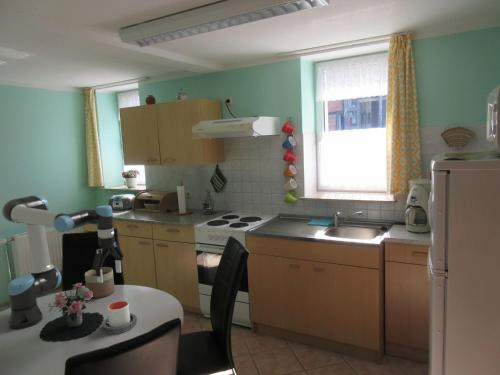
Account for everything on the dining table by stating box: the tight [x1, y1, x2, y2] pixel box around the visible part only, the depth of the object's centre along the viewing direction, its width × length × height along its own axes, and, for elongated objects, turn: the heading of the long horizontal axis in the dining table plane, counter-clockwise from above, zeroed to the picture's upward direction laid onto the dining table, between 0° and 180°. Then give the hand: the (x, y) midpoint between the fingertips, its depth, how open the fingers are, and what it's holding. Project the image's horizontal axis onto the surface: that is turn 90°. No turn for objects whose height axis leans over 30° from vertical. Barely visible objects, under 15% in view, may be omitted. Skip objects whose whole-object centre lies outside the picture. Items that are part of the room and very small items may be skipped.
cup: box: [107, 300, 130, 327], centre depth 186 cm, size 10×10×10 cm
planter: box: [84, 266, 116, 299], centre depth 227 cm, size 16×16×14 cm
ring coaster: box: [101, 312, 138, 335], centre depth 186 cm, size 16×16×3 cm
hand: (109, 277), depth 188 cm, fingers open, 13 cm apart
